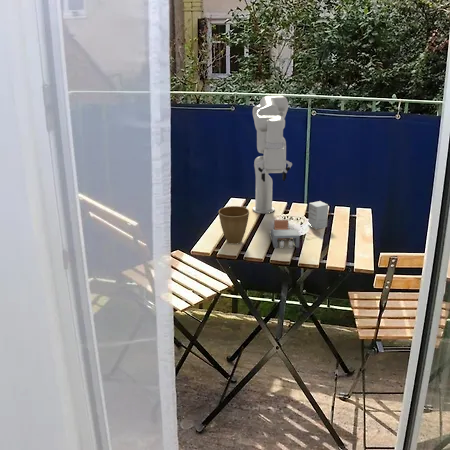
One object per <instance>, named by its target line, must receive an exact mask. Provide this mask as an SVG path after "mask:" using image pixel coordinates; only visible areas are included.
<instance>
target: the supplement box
mask: <svg viewBox="0 0 450 450" xmlns="http://www.w3.org/2000/svg"><path fill="white" fill-rule="evenodd" d="M328 213H329V204H328V203H325V202H323V201H321V200H319V201H318V200H317V201H314V202H309V203H308V220H307V221H308V222H309V223H310V224H311V226H312V227H313V229H314V228H315V230H320V229H324V227H325V228H327V227H328V218H329V217H328V215H329V214H328ZM308 222H307V223H308ZM311 226H310V227H311ZM312 227H311V228H312Z"/></svg>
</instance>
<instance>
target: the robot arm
mask: <svg viewBox="0 0 450 450" xmlns="http://www.w3.org/2000/svg"><path fill="white" fill-rule="evenodd" d="M288 110H289V101H288V99H287V97H286V96H283V95H266V96H263V97H262V98H261V99H260V101H259V104H258V105H254V106H253V108H252V117H253V121H254V123H253V124H254V127H255V130H256V149H257V152H258V153H259V154H263V155H260V156H257V157H256V158H255V159H254V162H253V163H254V164H253V167H254V174H255V205H254V206H253V207H252V211H253V212H255V213H256V214H270V213H269V212H271V213H274V212H275V210H276V209H275V207H274V206H273V185H274V184H273V178H272V177H271V176H270V175H269V174H282V181H283V182H285V181H286V179H287V173H288V171H290V170H291V167H292V166H293V163H292V161H291V162H290V161H289V160H287V141H286V138H285V137H284V129H285V128H286V115H287V112H288ZM273 211H274V212H273Z"/></svg>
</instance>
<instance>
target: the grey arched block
mask: <svg viewBox="0 0 450 450" xmlns="http://www.w3.org/2000/svg"><path fill="white" fill-rule="evenodd" d="M273 230H290V229H289V219H273ZM285 239H286V240H285ZM287 239H291V240H292V238H277V241H281V240H283V241H288V240H287Z"/></svg>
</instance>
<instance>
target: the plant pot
mask: <svg viewBox="0 0 450 450" xmlns="http://www.w3.org/2000/svg"><path fill="white" fill-rule="evenodd" d="M249 214H250V209H248V208H246V207H244V206H238V205H232V206H225V207H222V208H220V209H219V210H218V216H219V223H220V225H221V226H220V227H221V229H222V233H223V235H224V238H225V240H226V242H227V243H228V244H229V245H230V244H231V245H238V244H241V243H242V241H243V240H244V236H245V234H246V230H247V225H248V222H249V216H250V215H249ZM240 242H241V243H240ZM237 243H238V244H237Z"/></svg>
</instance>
